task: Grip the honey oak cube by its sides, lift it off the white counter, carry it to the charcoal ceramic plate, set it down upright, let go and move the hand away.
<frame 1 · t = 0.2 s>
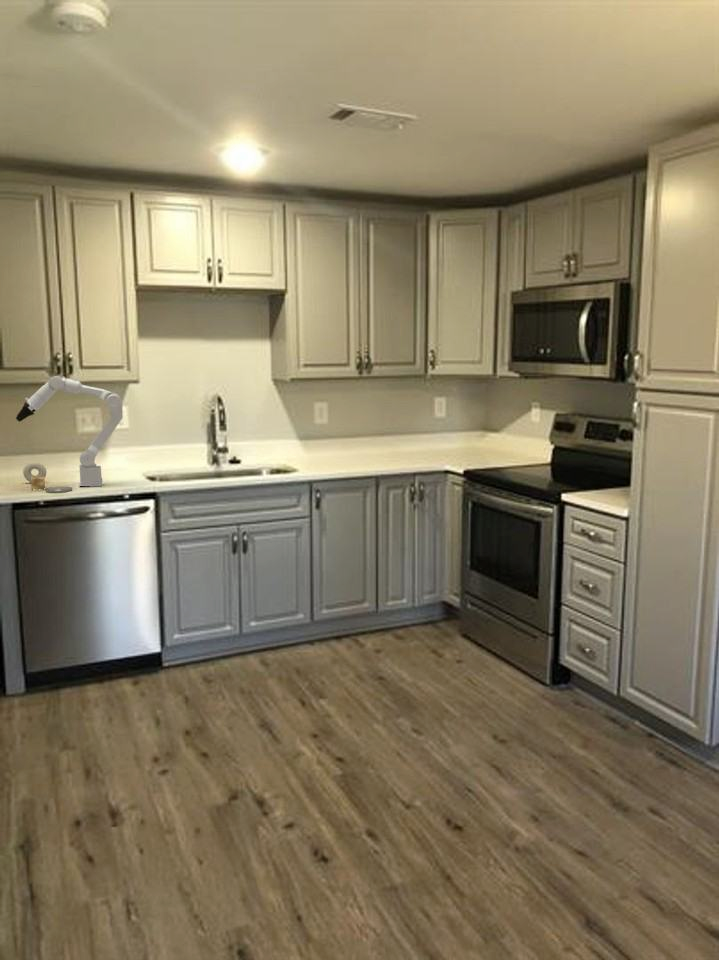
hand: (18, 418, 347), 31 cm above the worktop, tool tilted 45°, fingers open, 7 cm apart
donut: (35, 483, 366), on the worktop
cube: (38, 489, 350), on the worktop
plate: (58, 490, 346), on the worktop
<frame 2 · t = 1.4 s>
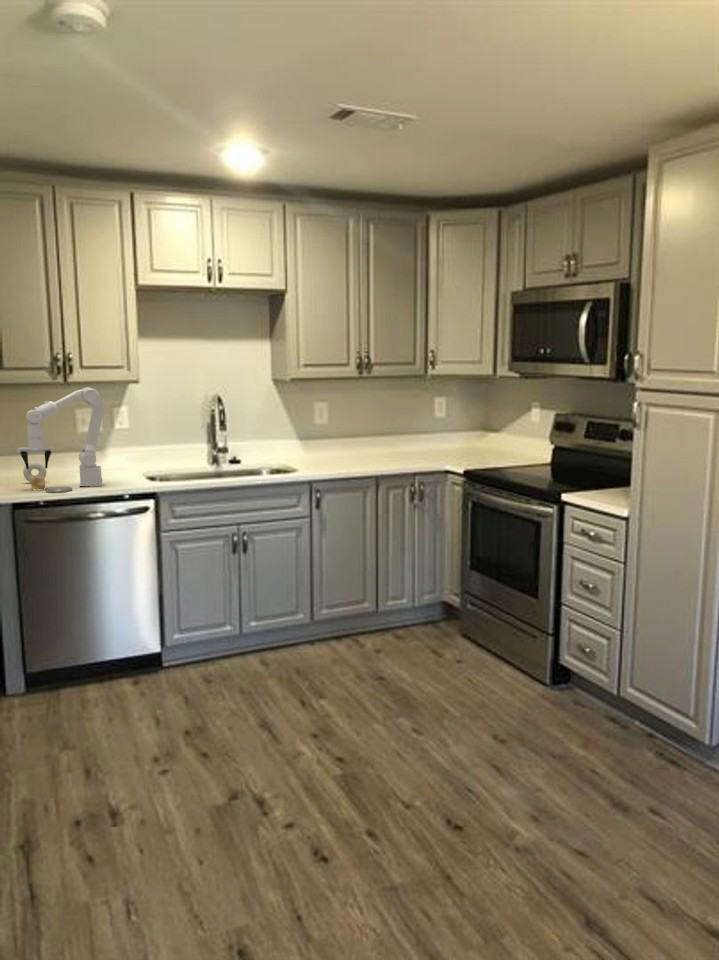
hand: (37, 468, 349), 9 cm above the worktop, tool pointing down, fingers open, 7 cm apart
nothing on the worktop moved.
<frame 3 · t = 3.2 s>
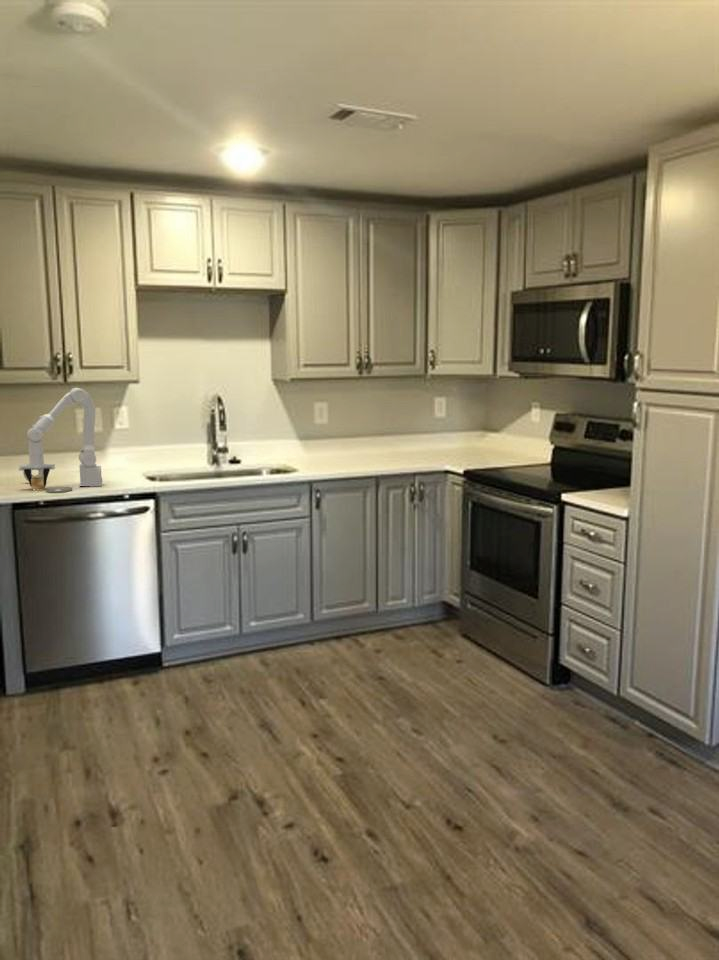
hand: (38, 486, 350), 1 cm above the worktop, tool pointing down, fingers closed on cube, 5 cm apart
cube: (38, 489, 350), on the worktop, touching gripper
everything else where it was.
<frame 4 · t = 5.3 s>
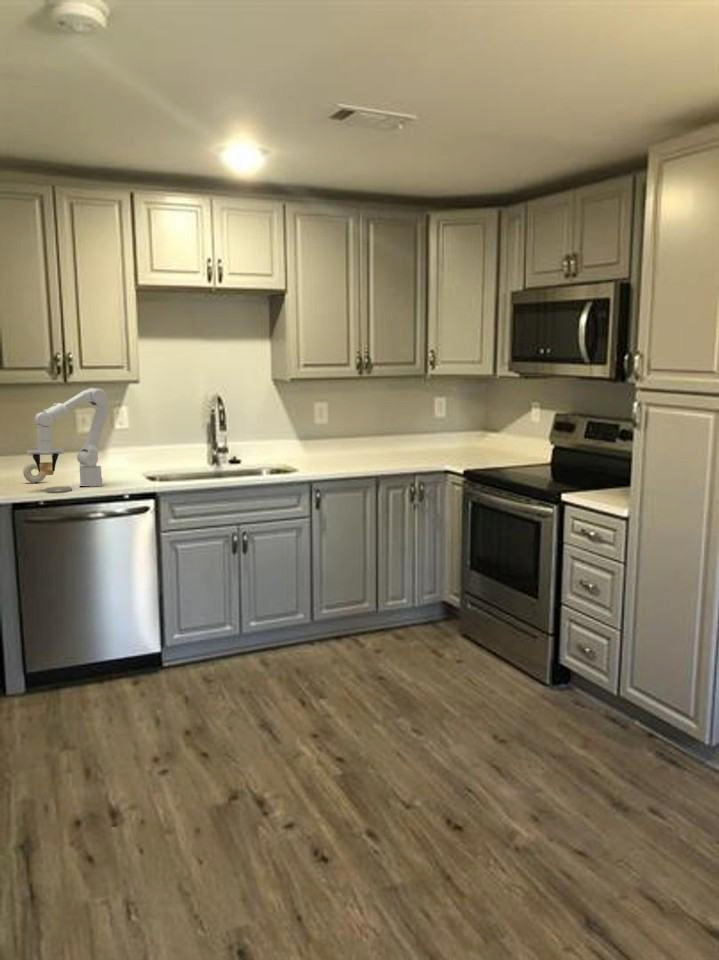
hand: (46, 471, 347), 8 cm above the worktop, tool pointing down, fingers closed on cube, 5 cm apart
cube: (47, 474, 347), point 7 cm above the worktop, touching gripper
everything else where it was.
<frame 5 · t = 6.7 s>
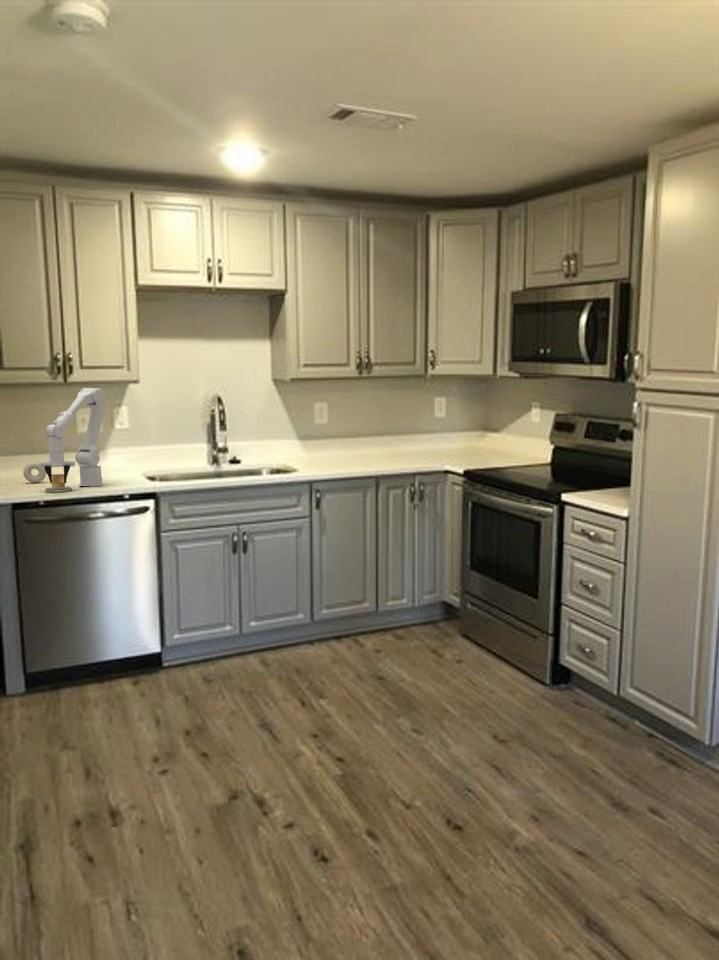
hand: (58, 483, 345), 3 cm above the worktop, tool pointing down, fingers closed on cube, 5 cm apart
cube: (58, 486, 346), point 2 cm above the worktop, touching gripper
everything else where it was.
when the fingers open (3 cm above the worktop, at t = 7.8 s): cube stays where it is, resting on plate.
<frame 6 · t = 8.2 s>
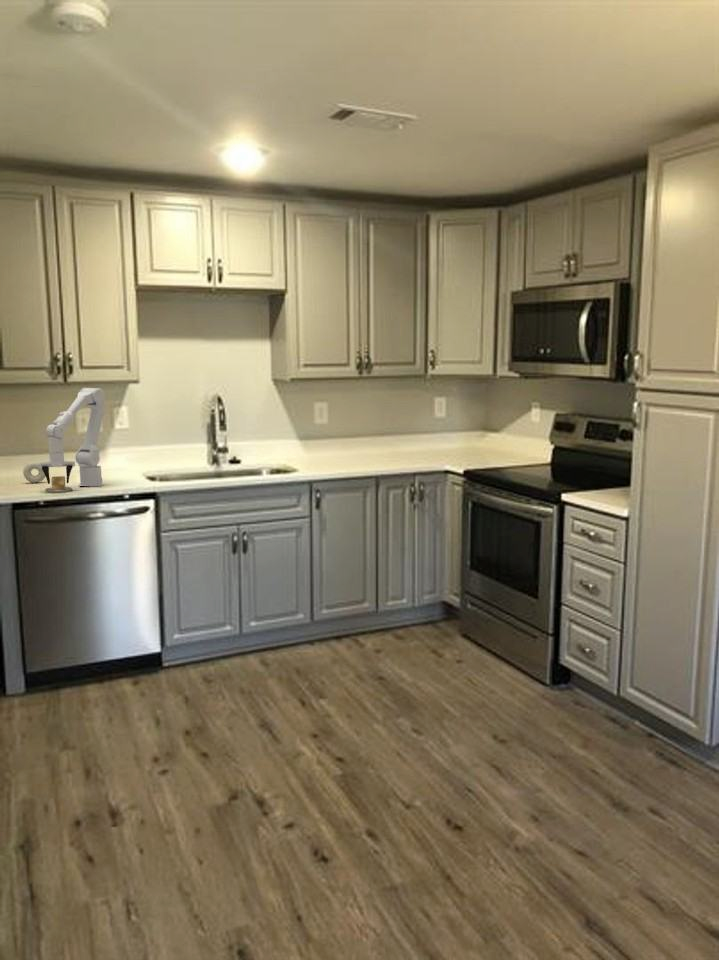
hand: (58, 483, 345), 3 cm above the worktop, tool pointing down, fingers open, 7 cm apart
cube: (58, 488, 346), point 1 cm above the worktop, touching plate
everything else where it was.
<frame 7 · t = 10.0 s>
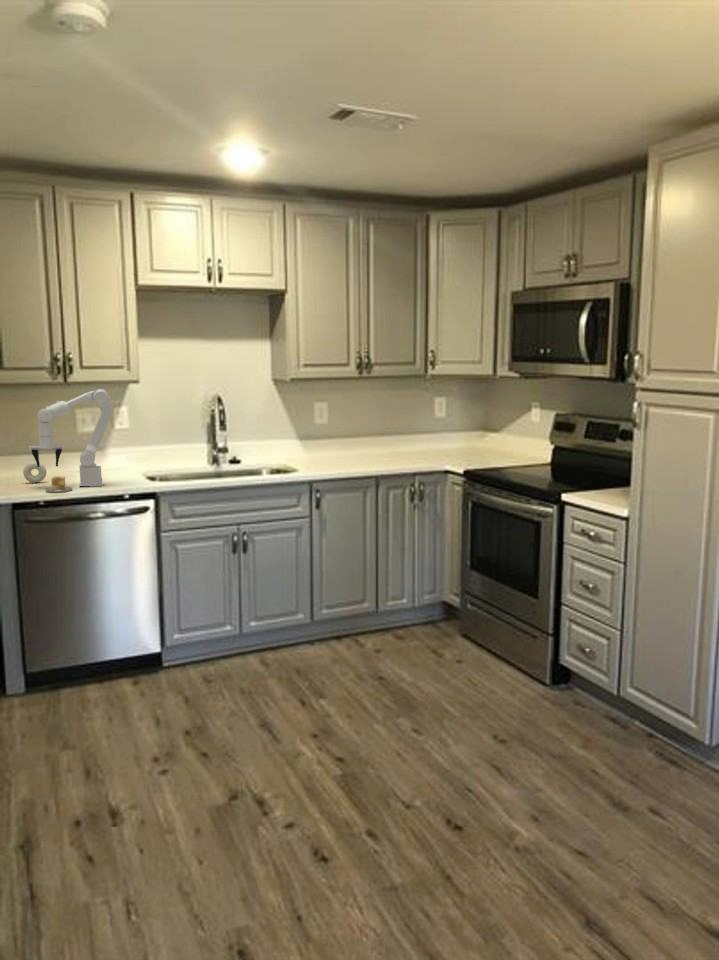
hand: (47, 466, 353), 9 cm above the worktop, tool pointing down, fingers open, 7 cm apart
nothing on the worktop moved.
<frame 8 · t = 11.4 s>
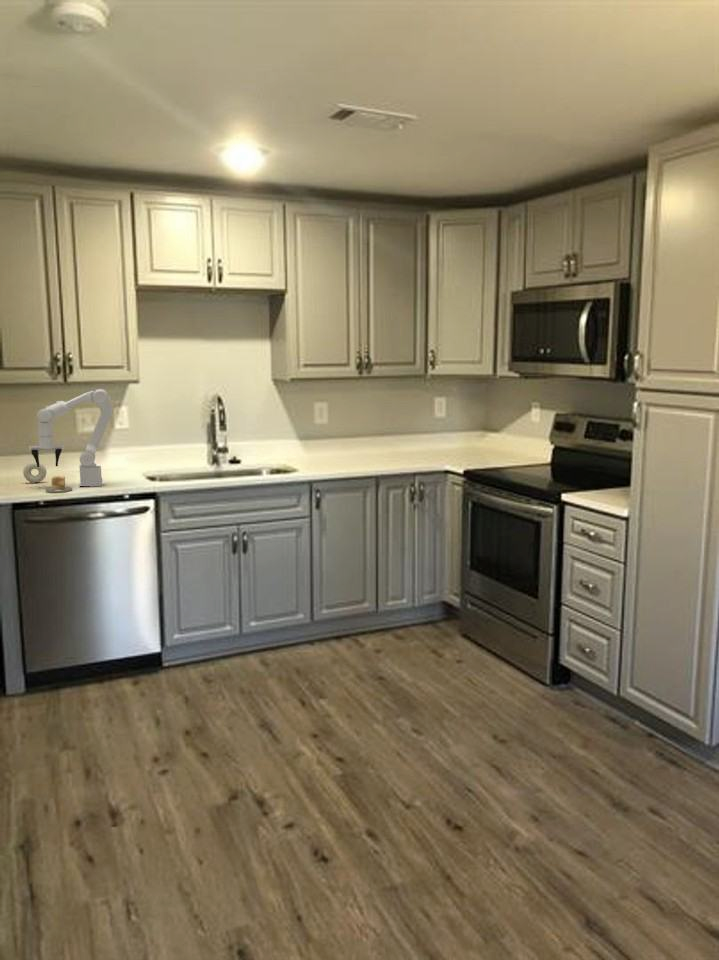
hand: (47, 466, 353), 9 cm above the worktop, tool pointing down, fingers open, 7 cm apart
nothing on the worktop moved.
at the end: cube inside the target area on the plate (0.0 cm from its centre), point 1.0 cm above the plate's base; the gripper is holding nothing; cube tilted 0° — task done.
